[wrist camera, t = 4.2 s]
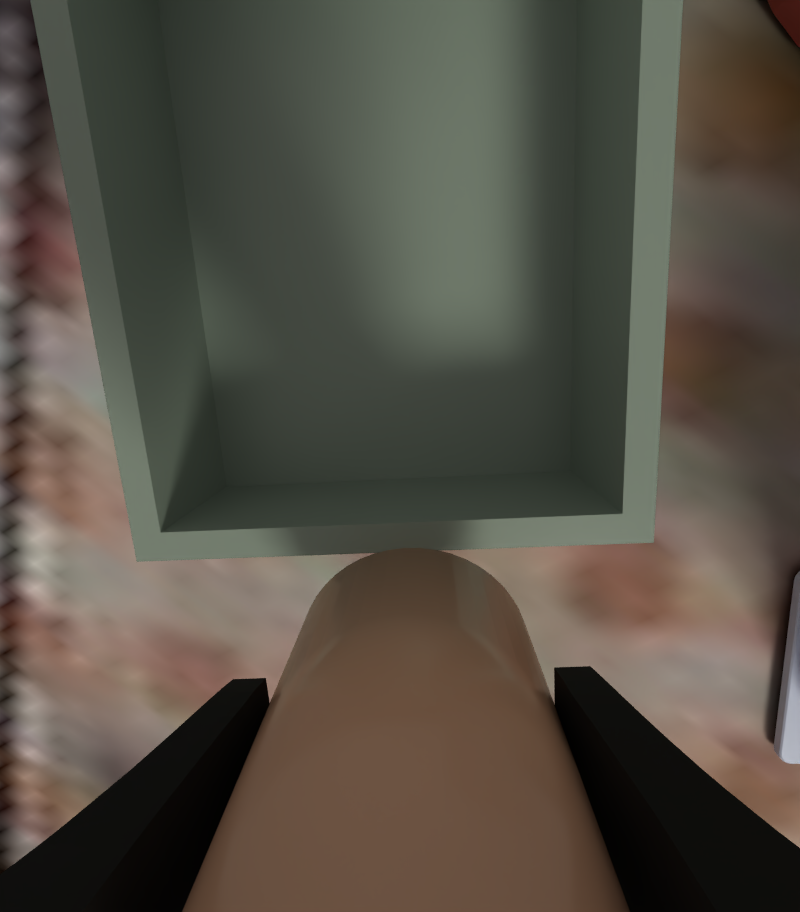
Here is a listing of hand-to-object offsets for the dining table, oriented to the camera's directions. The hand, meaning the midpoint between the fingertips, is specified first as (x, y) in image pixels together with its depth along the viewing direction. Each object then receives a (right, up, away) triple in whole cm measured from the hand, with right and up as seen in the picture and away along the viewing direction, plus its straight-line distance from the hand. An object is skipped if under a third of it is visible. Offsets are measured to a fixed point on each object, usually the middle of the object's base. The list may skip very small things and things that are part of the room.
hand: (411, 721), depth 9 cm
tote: (-1, +12, +7) cm, 14 cm away
